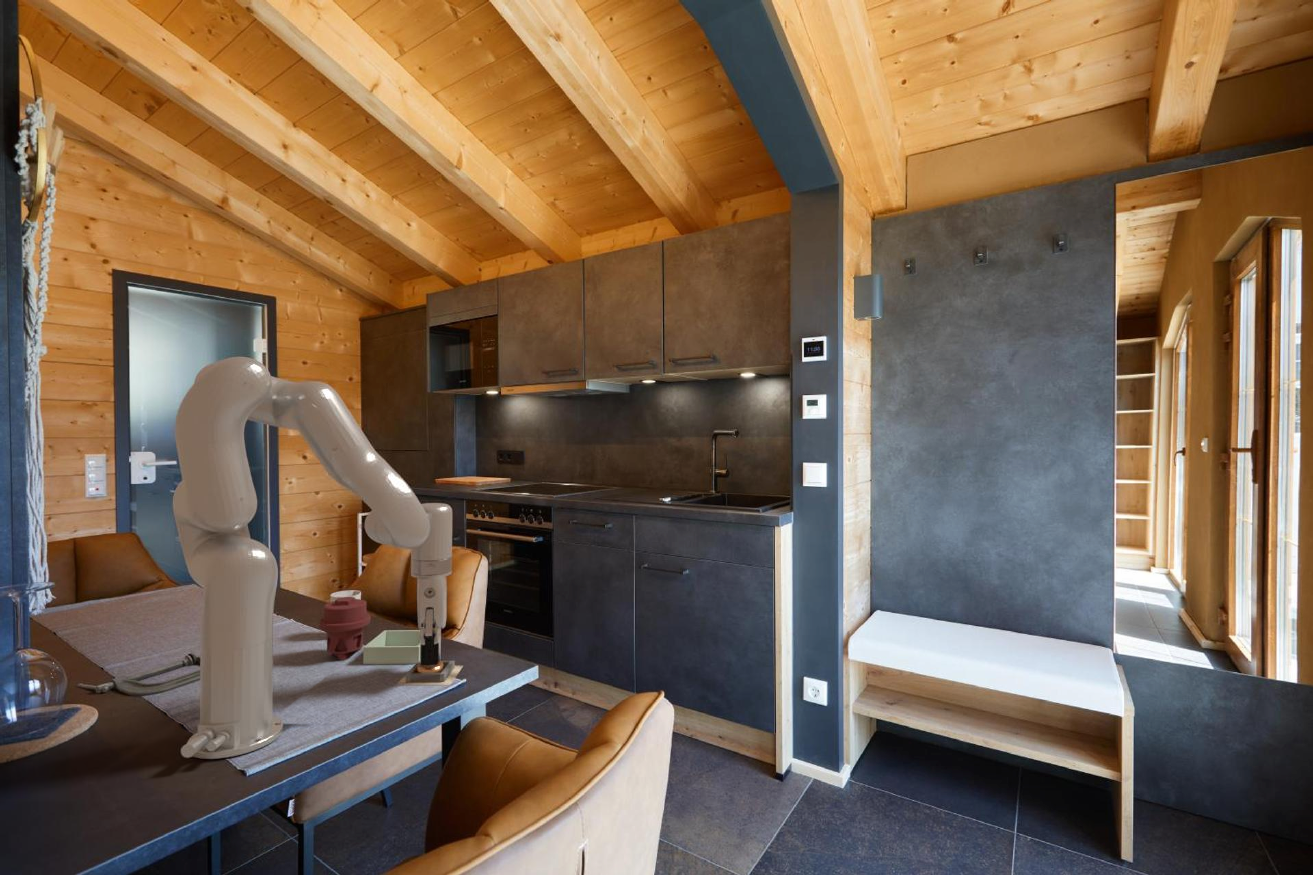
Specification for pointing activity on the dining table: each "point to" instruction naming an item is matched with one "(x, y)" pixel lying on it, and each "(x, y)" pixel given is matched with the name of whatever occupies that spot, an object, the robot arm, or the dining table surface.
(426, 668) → the grey rounded tall piece
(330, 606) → the mechanical component
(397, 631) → the bin
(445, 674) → the socket pad
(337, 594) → the white cup
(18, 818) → the dining table surface
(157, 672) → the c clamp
